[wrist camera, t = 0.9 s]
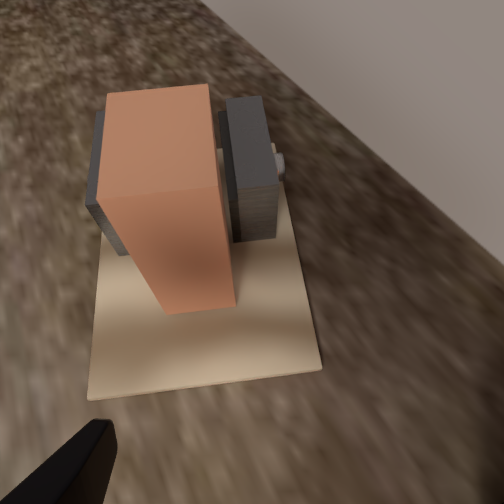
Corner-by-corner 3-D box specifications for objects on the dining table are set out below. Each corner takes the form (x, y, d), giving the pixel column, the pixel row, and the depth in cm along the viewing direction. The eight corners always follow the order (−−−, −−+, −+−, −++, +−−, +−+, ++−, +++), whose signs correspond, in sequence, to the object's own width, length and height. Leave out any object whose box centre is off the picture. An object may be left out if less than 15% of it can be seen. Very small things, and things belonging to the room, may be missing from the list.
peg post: (235, 306, 24) (218, 186, 14) (166, 315, 24) (96, 199, 14) (227, 229, 27) (207, 83, 17) (165, 236, 27) (107, 93, 17)
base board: (321, 370, 23) (322, 368, 23) (90, 400, 23) (86, 399, 22) (274, 148, 33) (274, 142, 32) (111, 165, 32) (108, 160, 32)
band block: (289, 236, 27) (296, 182, 22) (104, 258, 27) (67, 207, 22) (272, 156, 31) (275, 93, 26) (111, 173, 31) (81, 112, 26)
